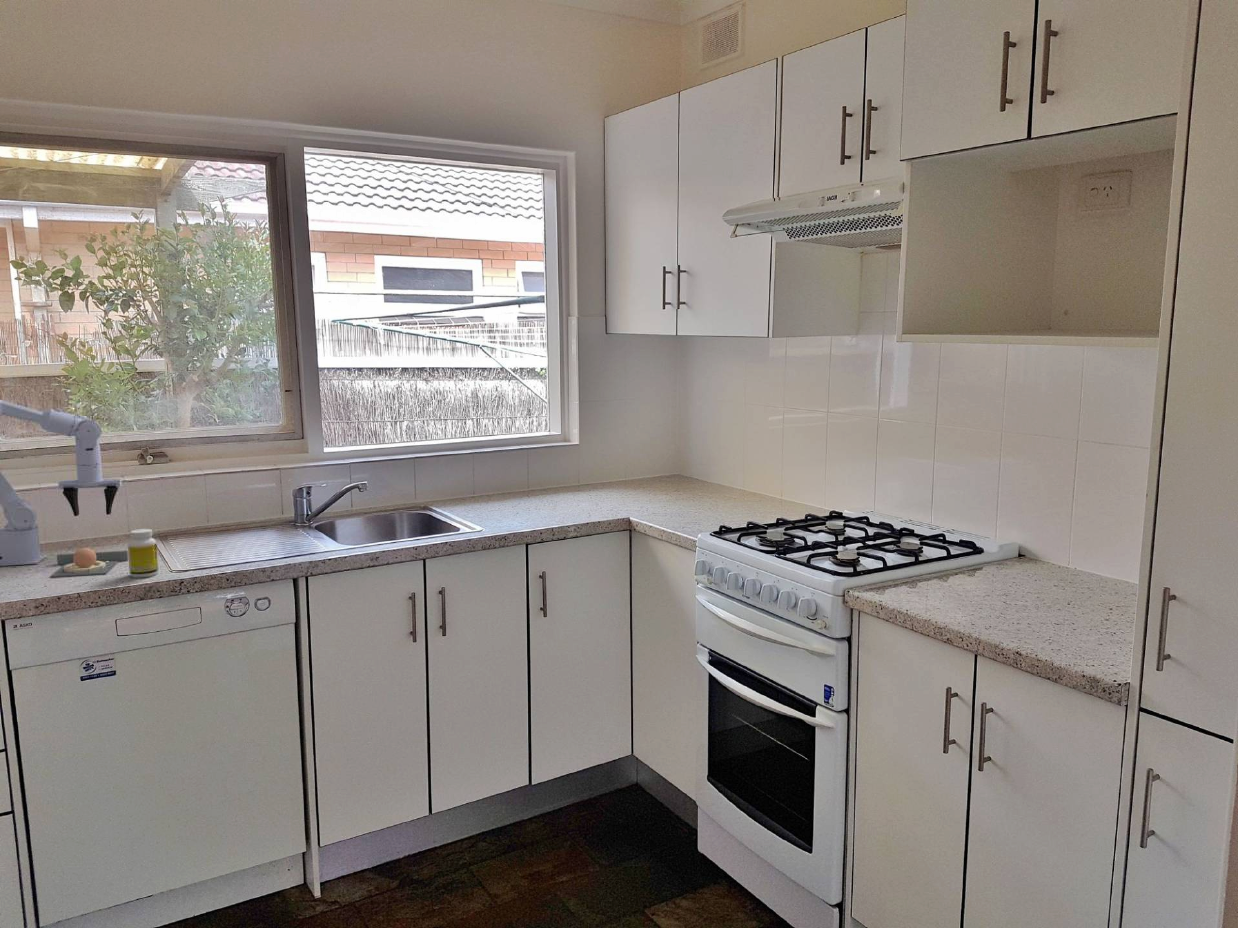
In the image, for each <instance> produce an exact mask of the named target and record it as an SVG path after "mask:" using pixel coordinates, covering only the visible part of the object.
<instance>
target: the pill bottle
mask: <svg viewBox="0 0 1238 928" xmlns="http://www.w3.org/2000/svg"><path fill="white" fill-rule="evenodd" d="M152 536H153V530H152V529H149V528H139V529H133V530H131V531H130V538H131V540H129V541H128V543H127V550H128V565H129V566H128V568H129V576H130V577H132V578H136V579H139V578H141V579H142V578H150V577H154V576H156V575H157V574H158V573H159V563H158V561H159V560H158V549H157V547H158V546H157V541H156V539H155V538H153V537H152Z"/></svg>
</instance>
